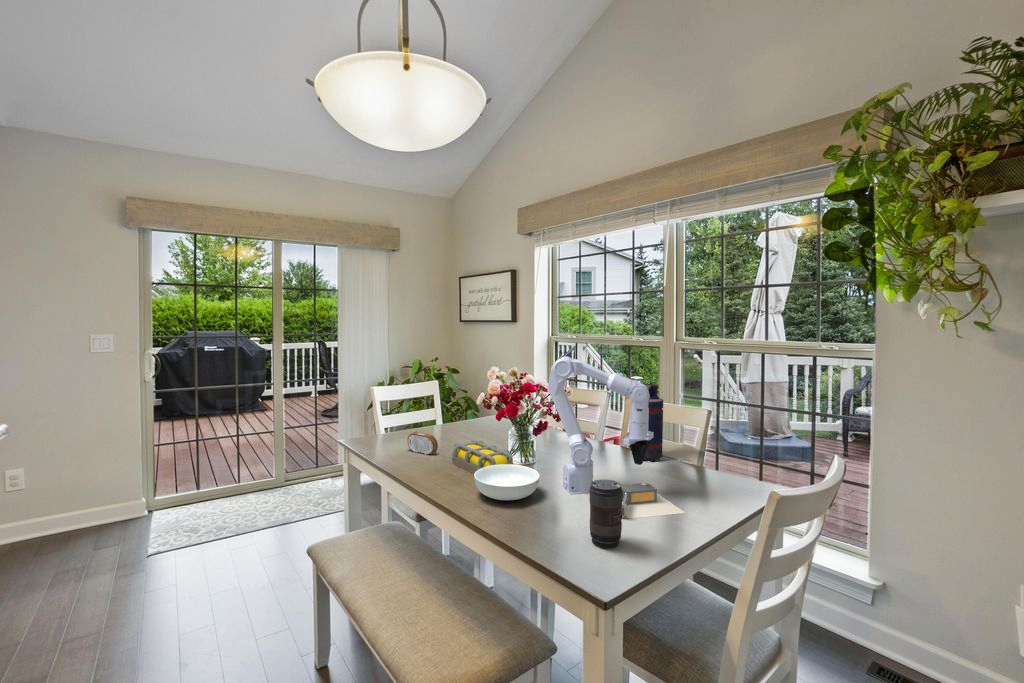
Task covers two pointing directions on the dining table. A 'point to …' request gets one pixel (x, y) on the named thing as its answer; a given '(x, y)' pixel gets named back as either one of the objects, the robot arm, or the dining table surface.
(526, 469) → the serving bowl
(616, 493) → the camera lens
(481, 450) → the cage light
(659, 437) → the grenade
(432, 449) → the tin
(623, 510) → the door
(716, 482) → the dining table surface
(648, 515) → the mat
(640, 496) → the grey and orange box
